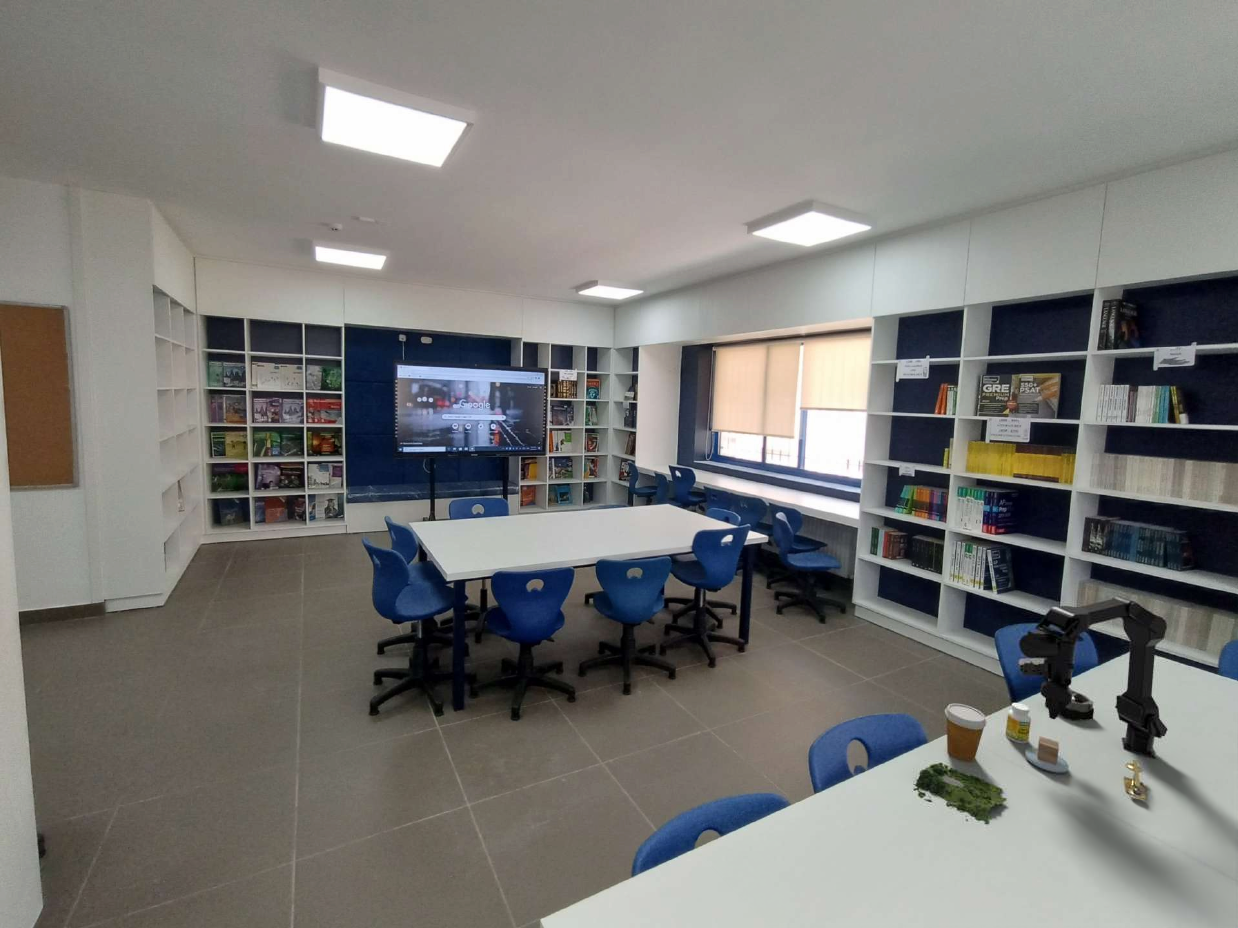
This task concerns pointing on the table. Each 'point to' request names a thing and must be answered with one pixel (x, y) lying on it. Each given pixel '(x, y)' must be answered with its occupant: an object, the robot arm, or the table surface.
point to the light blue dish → (1059, 768)
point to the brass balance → (1134, 782)
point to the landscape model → (959, 790)
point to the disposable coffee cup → (964, 731)
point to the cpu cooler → (1078, 708)
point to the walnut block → (1048, 750)
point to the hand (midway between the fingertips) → (1052, 711)
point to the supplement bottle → (1018, 723)
